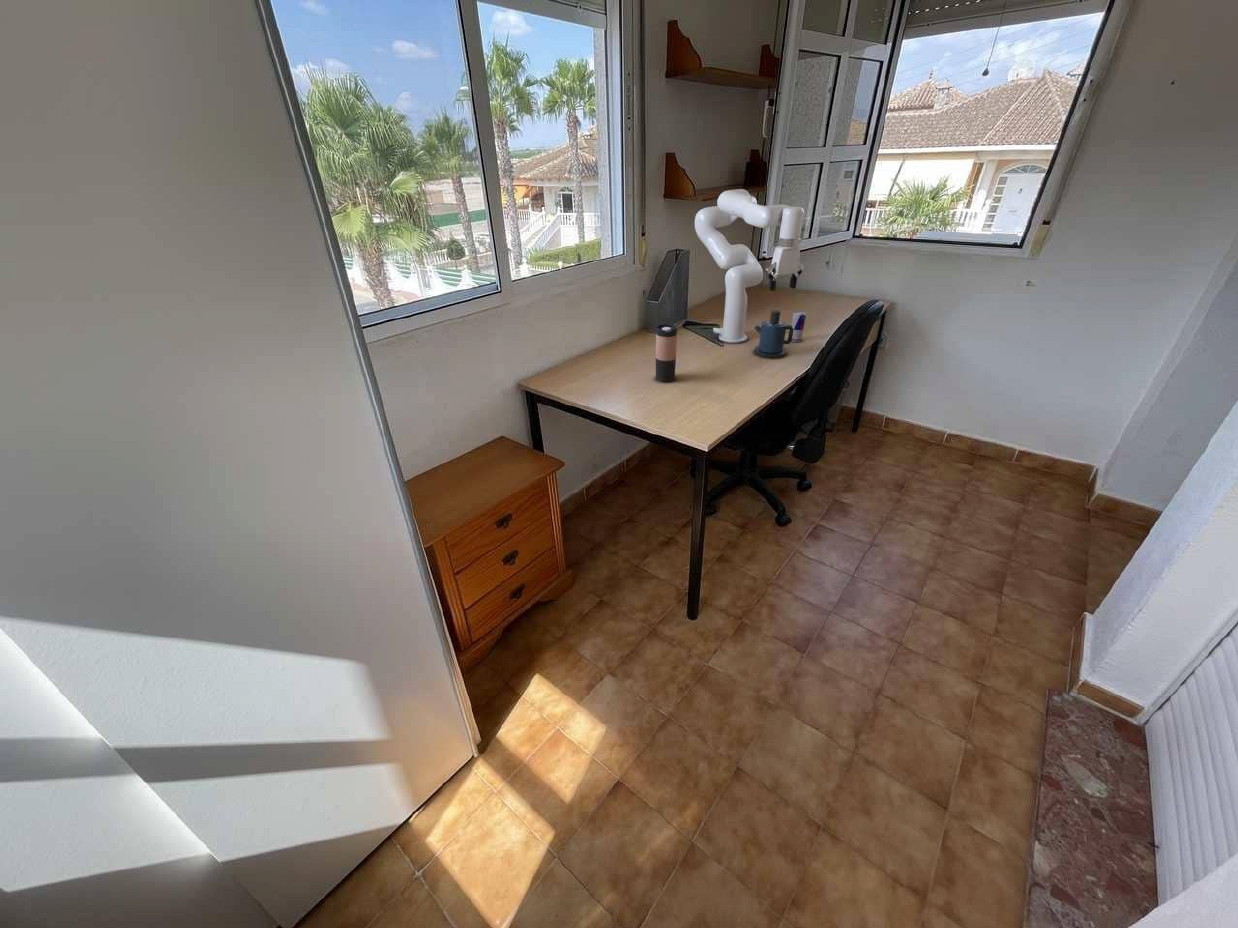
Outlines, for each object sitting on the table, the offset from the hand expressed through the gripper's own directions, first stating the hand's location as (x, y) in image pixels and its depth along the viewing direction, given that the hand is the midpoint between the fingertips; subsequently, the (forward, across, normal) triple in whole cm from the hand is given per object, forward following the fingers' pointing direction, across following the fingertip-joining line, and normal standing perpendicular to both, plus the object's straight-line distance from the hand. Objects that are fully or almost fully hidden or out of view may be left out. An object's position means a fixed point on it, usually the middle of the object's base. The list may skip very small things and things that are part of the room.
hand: (782, 289), depth 207 cm
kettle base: (+26, +1, 0) cm, 26 cm away
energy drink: (+27, -19, -10) cm, 34 cm away
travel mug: (+27, +54, +7) cm, 60 cm away
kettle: (+25, +1, 0) cm, 25 cm away
